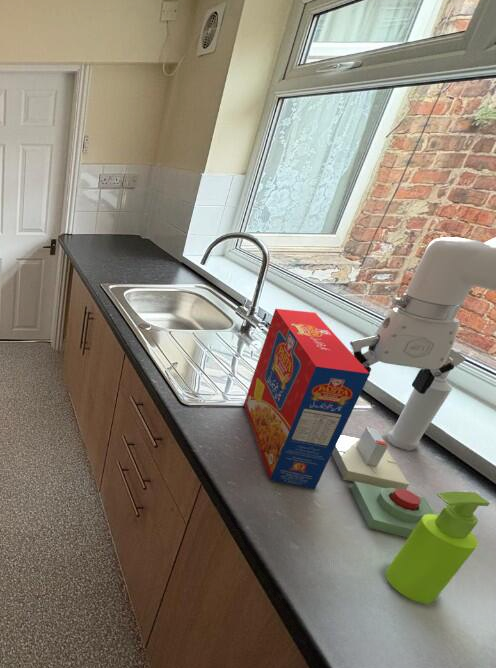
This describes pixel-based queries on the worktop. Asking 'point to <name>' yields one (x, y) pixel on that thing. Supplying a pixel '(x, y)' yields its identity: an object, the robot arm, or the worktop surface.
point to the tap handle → (371, 446)
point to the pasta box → (301, 396)
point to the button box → (387, 510)
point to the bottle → (420, 412)
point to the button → (405, 499)
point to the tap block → (366, 466)
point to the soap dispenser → (436, 548)
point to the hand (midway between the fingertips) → (387, 385)
